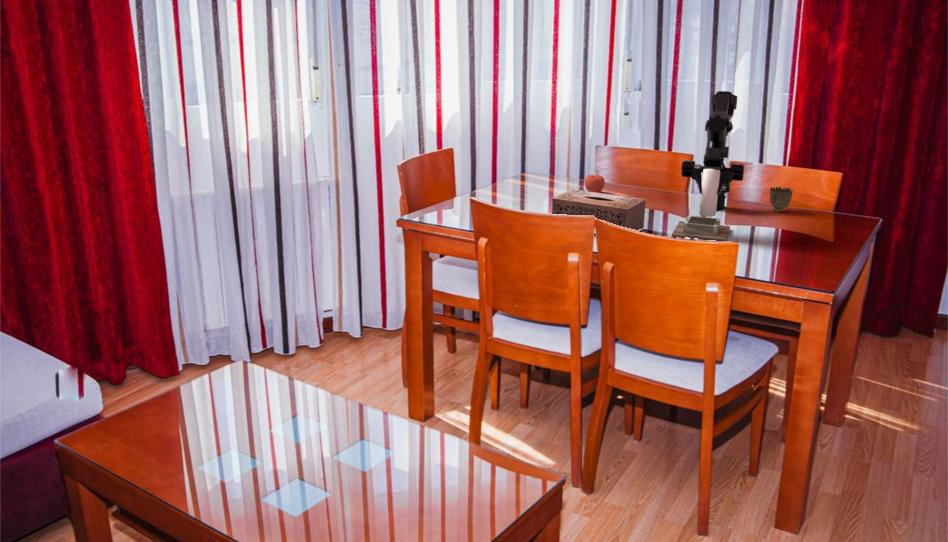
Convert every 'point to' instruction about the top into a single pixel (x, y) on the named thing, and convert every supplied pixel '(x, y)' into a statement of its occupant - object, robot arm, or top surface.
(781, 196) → the cup
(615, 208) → the tissue box cover
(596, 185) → the apple
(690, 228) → the collar seat
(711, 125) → the robot arm
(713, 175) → the cream post
